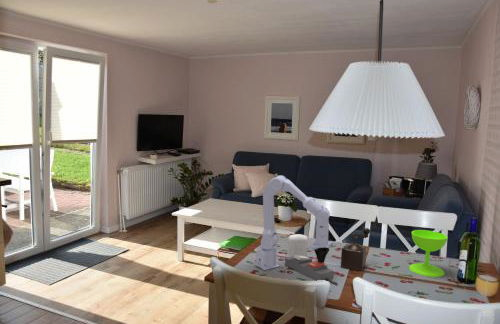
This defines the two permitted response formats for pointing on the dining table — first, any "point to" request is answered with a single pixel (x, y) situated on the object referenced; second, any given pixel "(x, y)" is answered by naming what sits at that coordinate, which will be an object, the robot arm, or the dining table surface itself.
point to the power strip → (310, 269)
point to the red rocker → (316, 264)
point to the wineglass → (428, 251)
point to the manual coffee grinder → (354, 254)
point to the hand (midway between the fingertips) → (320, 263)
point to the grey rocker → (301, 257)
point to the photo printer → (297, 245)
